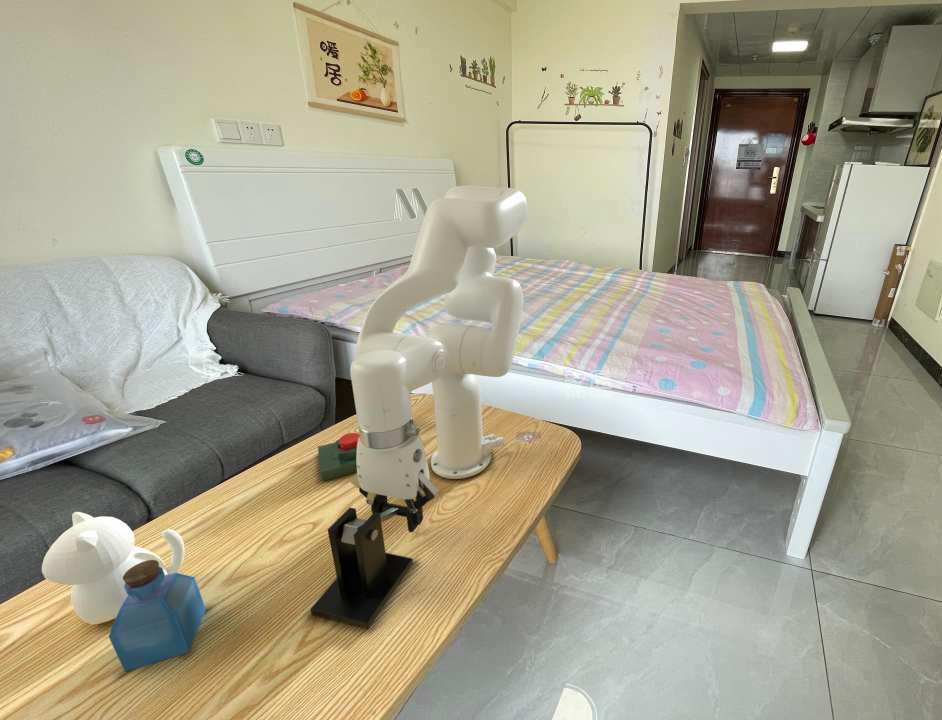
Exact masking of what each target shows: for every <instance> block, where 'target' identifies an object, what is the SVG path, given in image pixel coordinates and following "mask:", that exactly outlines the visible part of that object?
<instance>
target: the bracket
mask: <svg viewBox="0 0 942 720" xmlns="http://www.w3.org/2000/svg"><path fill="white" fill-rule="evenodd" d="M357 515H358V514H357V509H356V508H355V507H349V508H347V510H345V512H343V513H342V515H341V516H340V517H338V519H336V520H335V522H334V523H333V524H332V525H331V526H329V528H328V529H327V534H328V535H327V536H328V539H329V545H330V550H331V555H332V560H333V565H334V571H335V575H336V578H335V579H334V581H333V582H332V583H331V585H330V586H329V587H328V588H327V589H326V590H325V592H323V594H322V595H321V596H320V597H319V598H318V599H317V601H316V602H315V603H314V604H313V605H312V606H311V608H310V609H309V611H310V616H313V617H316V618H321V619H325V620H330V621H333V622H338V623H342V624H346V625H349V626H354V627H358V628H362V629H366V630H369V629H370V628H371V626H372V624H373V623H374V621H376V619H377V617H378V616H379V614H380V613H381V612H382V610H383V609H384V607H385V606H386V604H387V602H389V600H390V598H391V597H392V595H393V594H394V592H395V591H396V589H397V588H398V587H399V586H400V583H401V582H402V581H403V579H404V578H405V577H406V575H407V573H408V572H409V570H410V569H411V567H412V566H413V565H414V562H413V560H414V559H413V558H411V557H408V556H404V555H403V556H402V555H398V554H393V553H388V552H386V547H385V546H386V545H385V539H384V532H383V525H382V524H383V523H381V517H380V513H375V512H374V513H373V514H372V513H371V515H370V516H369V517H368V518H367V519H366V520H367V521H366V522H365V523H364V524H363V525H362V526H361V527H360V528H359V530H358V531H357V532H356V533H355V534H354V541H355V545H354V544H349V543H344V542H341V540H342V534H343V529H344V525H345V524H347V523H349V522H351V521H353V520H355V519H357V518H358V516H357Z"/></svg>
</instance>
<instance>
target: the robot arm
mask: <svg viewBox="0 0 942 720" xmlns="http://www.w3.org/2000/svg"><path fill="white" fill-rule="evenodd" d="M528 207H529V206H528V201H527V198H526V196H525V194H524V193H523V192H522V191H520V189H517V188H512V187H501V186H500V187H498V186H485V185H457V186H454V187H451V188H449V189H448V190H447V191H446V192H445V194H444V197H441V198H437V199H435V200H433V201H431V202H430V204H429V205H428V206H427V209H426V211H425V214H424V217H423V221H422V222H421V223H422V224H421V227H420V230H419V233H418V236H417V240H416V243H415V247H414V250H413V253H412V256H411V259H410V263H409V266H408V268H407V270H406V271H405V273H404V274H403V275H402V276H400V277H398V278H397V279H396V280H395V281H393V282H392V283H391V284H390V285H388V286H387V287H386V288H385V289H384V290H383V291H382V292H381V293H380V294H379V295H378V296H377V297H376V298H375V300H374V301H373V302H372V303H371V304H370V306H369V308H368V309H367V311H366V313H365V315H364V318H363V321H362V324H361V327H360V330H359V333H358V335H357V336H358V337H357V340H356V344H355V349H354V359H353V361H352V362H351V364H350V368H349V369H350V371H349V372H350V378H351V385H352V393H353V399H354V406H355V412H356V419H357V425H358V434H360V437H359V438H358V443H357V456H356V459H357V472H355V474H354V475H353V476H352V477H351V478H350V479H349V482H350V483H351V484H352V485H353V486H354V487H355V488H356V489H358V492H359V494H361V495H362V496H363V497H364V498H365V499H366V500H365V502H366V504H367V505H368V506H370V509H371V515H372V514H373V513H374V512H375V513H382V512H380V511H379V508H380V505H381V504H382V503H383V502H386V503H389V501H388V497H391V498H397V499H402V500H403V501H404V503H405V506H407V507H408V509H409V511H408V512H407V514H406V516H407V517H406V523H407V531H408V532H409V533H414V532H415V530H416V529H417V528H418V526H420V525H422V523H423V521H424V511H423V510H424V509H423V507H424V506H425V505H426V504H428V503H429V502H431V501H432V500H435V498H436V497H437V496H438V494H439V492H440V491H439V489H438V488H437V486H435V485H434V484H433V483H432V481H430V470H429V463H428V458H427V454H426V450H425V446H424V444H423V441H422V438H421V436H420V433H421V428H420V427H418V426H415V424H414V419H413V409H412V399H411V394H412V392H413V391H414V390H417V389H420V388H421V387H424V386H426V385H429V384H431V386H432V396H433V410H434V423H435V435H436V446H437V449H436V450H435V451H434V453H433V454H432V456H431V458H430V467H431V469H432V471H433V472H434V473H435V474H436V475H437V476H439V477H441V478H444V479H448V480H449V479H451V480H459V479H460V480H461V479H466V478H470V477H473V476H475V475H476V476H477V474H479V473H481V472H483V471H484V470H485V469H486V468H487V467H488V466H489V464H490V463H491V460H492V454H491V451H492V449H494V448H498V447H502V446H505V445H506V443H505V442H506V441H505V438H504V437H503V436H499V437H496V436H495V434H494V433H492V434H488V435H484V434H483V432H484V431H483V408H482V387H481V384H480V380H479V379H478V376H481V377H490V378H500V377H503V376H506V375H507V374H508V373H509V371H510V370H511V368H512V365H513V362H514V357H515V353H516V349H517V344H518V337H519V332H520V328H521V322H522V318H523V312H524V303H525V300H524V299H525V298H524V291H523V288H522V285H521V284H520V283H519V281H517V280H515V279H513V278H511V277H507V276H496V275H494V274H495V268H496V263H497V254H496V251H495V249H496V248H500V247H502V246H503V245H505V244H506V243H507V242H509V241H510V240H511V239H512V238H513V237H514V236H515V235H516V234H519V232H520V231H521V230H522V229H523V227H524V225H525V223H526V221H527V218H528V214H529V213H528V212H529V208H528ZM440 296H444V301H443V305H444V309H445V311H446V313H447V314H448V315H449V316H450V317H453V318H455V319H460V320H464V321H465V320H466V321H472V322H482V323H489V324H492V327H486V326H476V325H470V324H461V323H442V324H441V323H440V324H438V325H435V326H433V327H432V328H430V330H428V332H427V333H426V335H425V336H420V335H413V334H406V333H399V332H397V333H396V332H394V329H395V328H396V325H397V323H398V322H399V320H400V319H401V318H402V316H403V315H405V314H406V313H407V312H408V311H409V310H411V309H412V308H414V307H416V306H418V305H419V304H422V303H425V302H427V301H430V300H432V299H433V300H434V299H435V298H438V297H440Z"/></svg>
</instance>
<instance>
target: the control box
mask: <svg viewBox="0 0 942 720" xmlns="http://www.w3.org/2000/svg"><path fill="white" fill-rule="evenodd" d="M358 434H359V433H358ZM359 435H360V434H359ZM317 452H318V461H319V471H320V478H321V481H322V482H326V481H329V480H334V479H336V478H340V477H343V476H347V475H350V474H353V473H357V459H356V456H357V447H356V448H354V449H350V450H342V449H341V448H340V445H339V439H337V440H335V441H334V442H331V443H327V444H323V445H318V446H317Z"/></svg>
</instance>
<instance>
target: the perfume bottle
mask: <svg viewBox="0 0 942 720" xmlns="http://www.w3.org/2000/svg"><path fill="white" fill-rule="evenodd" d="M123 580H124V581H125V585H124V587H125V590H126V593H127V594H128V596H127V598H126V600H125V601H124V603H123V605H122V606H121V608H120V610H119V612H118V615H117V617H116V618H115V619H114V622H113V625H112V627H111V630H110V632H109V634H108V638H109V641H110V643H111V645H112V647H113V649H114V651H115V654H116V656H117V658H118V660H119V663H120V664H121V667H122V669H123V671H124V672H129V671H132V670H135V669H138V668H141V667H144V666H148V665H151V664H152V665H153V664H155V663H158V662H162V661H165V660H167V659H172V658H174V657H178V656H181V655H185V654H188V653H190V650H191V648H192V645H193V643H194V641H195V638H196V635H197V633H198V630H199V629H200V627H201V623H202V621H203V619H204V616H205V613H206V611H207V609H206V605H205V603H204V600H203V597H202V595H201V592H200V589H199V586H198V582H197V580H196V578H195V576H191V575H188V574H183V573H179V572H177V573H173V574H169V575H165V574H164V571H163V569H162V568H161V567H159V563H158V561H156V560H147V561H144V562H141V563H139V564H137V565H135V566H133V567H132V568H130V569H129V570H128V571H127V572H126V573H125V574H124V576H123Z"/></svg>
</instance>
